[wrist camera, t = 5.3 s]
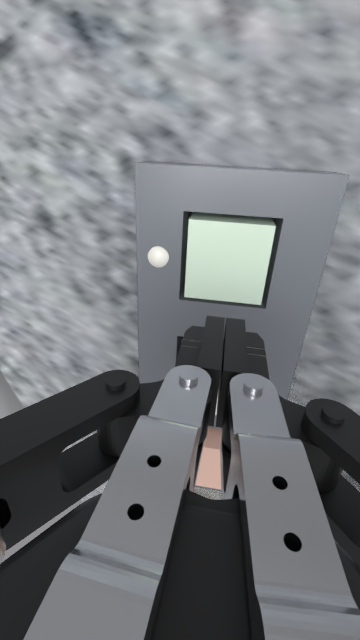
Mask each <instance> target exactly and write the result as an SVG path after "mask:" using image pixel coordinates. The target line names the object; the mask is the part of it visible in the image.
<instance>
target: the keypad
mask: <svg viewBox="0 0 360 640" xmlns="http://www.w3.org/2000/svg"><path fill="white" fill-rule="evenodd" d="M348 179H349V175H345V174H341V173H336V172H323V171H306V170H289V169H272V168H255V167H238V166H221V165H203V164H186V163H169V162H152V161H145V162H136V163H135V191H136V240H137V290H138V340H139V381H140V384H141V383H152V382H157V381H161V380H163V379H165V377H166V375H167V373H168V372H169V371H170V370H171V369H172V368H174V367H175V364H176V361H177V357H178V354H179V351H180V347H181V341H182V337H184V334H185V331H186V330H187V329H189V328H190V327H191V326H201V327H205V322H206V317H207V315H211V316H220V317H225V323H224V331H225V324H226V317H229V318H238V319H245V328H246V332H252V333H258V334H259V336H260V337H261V338H262V339H263V340H264V345H265V352H266V359H267V366H268V372H269V379H270V381H271V382H272V383H273V384H274V385H275V387H276V389H277V392H278V395H280V396H281V397H282V398H284V399H286V400H287V398H288V394H289V391H290V387H291V383H292V380H293V376H294V373H295V369H296V365H297V362H298V358H299V355H300V351H301V347H302V344H303V340H304V337H305V333H306V330H307V326H308V322H309V319H310V315H311V312H312V308H313V304H314V301H315V297H316V294H317V290H318V286H319V283H320V279H321V276H322V272H323V269H324V265H325V261H326V258H327V254H328V251H329V247H330V243H331V240H332V236H333V233H334V229H335V225H336V222H337V218H338V215H339V211H340V207H341V204H342V200H343V197H344V193H345V190H346V186H347V182H348ZM189 211H190V212H203V213H217V214H230V215H243V216H257V217H270V218H276V221H275V225H276V228H275V234H274V239H273V244H272V250H271V255H270V260H269V265H268V271H267V276H266V281H265V287H264V292H263V297H262V302H261V305H256V304H246V303H237V302H227V301H218V300H208V299H199V298H189V297H184V293H185V272H186V255H187V237H188V220H189ZM223 339H224V337H223ZM208 428H215V429H221V430H222V428H220V427H216V415H215V420H214V427H213V426H208ZM195 487H200V488H206V489H212V490H218V491H221V490H220V489H214V488H209V487H203V486H197V485H195Z"/></svg>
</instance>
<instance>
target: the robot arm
mask: <svg viewBox="0 0 360 640" xmlns="http://www.w3.org/2000/svg"><path fill="white" fill-rule="evenodd" d="M224 323H225V317H220V316H211V315H207V317H206V322H205V327H201V326H191V327H190V328H189V329H187V330H186V331H185V334H184V337H183V340H182V344H181V347H180V351H179V354H178V357H177V361H176V364H175V367H174V368H172V369H171V370H170V371H169V372H168V373H167V375H166V377H165V379H163V380H161V381H157V382H152V383H141V384H140V381H139V379H138V377H137V376H136V375H135V374H133V373H131V372H129V371H125V370H112V371H108V372H105V373H102V374H100V375H98V376H96V377H93V378H91V379H89V380H87V381H85V382H82V383H80V384H78V385H76V386H73V387H71V388H69V389H67V390H64V391H62V392H60V393H58V394H55V395H53V396H51V397H49V398H47V399H44V400H42V401H40V402H38V403H35V404H33V405H31V406H29V407H26V408H24V409H22V410H20V411H18V412H15V413H13V414H11V415H8V416H6V417H4V418H2V419H0V640H360V492H359V491H358V490H357V489H356V488H355V487H354V486H352V485H351V484H350V483H349V482H348V481H347V480H346V479H345V478H344V477H343V476H342V475H341V473H342V471H343V470H345V471H346V472H347V473H348V474H349V475H350V476H351V477H352V478H353V479H355V480H356V481H357V482H358V483H359V484H360V416H359V415H358V414H356V413H355V412H353V411H352V410H351V409H349V408H348V407H346V406H345V405H343V404H341V403H339V402H336V401H333V400H329V399H314V400H311V401H310V402H309V403H308V404H307V405H306V407H304V406H301V405H298V404H295V403H293V402H290V401H288V400H286V399H284V398H282V397H281V396H280V395H278V392H277V389H276V387H275V385H274V384H273V383H272V382H271V381H270V379H269V372H268V366H267V359H266V352H265V345H264V340H263V339H262V338H261V337H260V336H259V334H258V333H252V332H246V328H245V319H238V318H229V317H226V324H225V331H224ZM223 337H224V339H223ZM217 397H218V402H217ZM216 405H217V415H216V427H220V428H222V438H221V444H220V465H221V494H222V500H210V499H207V498H205V497H203V496H201V495H198V494H196V493H194V490H195V485H196V480H197V475H198V470H199V466H200V461H201V456H202V451H203V447H204V440H205V439H206V437H207V431H208V426H213V427H214V420H215V412H216ZM95 430H97V433H95V434H93V435H92V436H90V437H88V438H86V439H85V440H83V441H81V442H79V443H78V444H76V445H74V446H72V447H71V448H69V449H67V450H65V451H64V452H62V451H63V450H64V449H65V448H66V447H67V446H69V445H71V444H72V443H74V442H76V441H78V440H79V439H81V438H83V437H85V436H87V435H88V434H90V433H92V432H94V431H95ZM61 452H62V453H61ZM107 480H109V481H108V483H107V485H106V487H105V489H104V491H103V493H101V494H99V495H97V496H95V497H92V498H90V499H89V500H87V501H85V502H83V503H82V504H80V505H79V506H77V507H76V508H75V509H73V510H72V511H71V512H69V513H68V514H67V515H65V516H64V517H63V518H61V519H60V520H58V521H57V522H56V523H54V524H53V525H52V526H50V527H49V528H48V529H46V530H45V531H44V532H42V533H41V534H40V535H38V536H37V537H36V538H34V539H33V540H32V541H30V542H29V543H28V544H26V545H25V546H24V547H22V548H21V549H20V550H19V551H17V552H16V553H14V554H13V555H12V556H10V557H9V558H8V559H6V560H5V561H4V562H2V560H3V558H4V555H5V551H6V550H8V549H9V548H11V547H12V546H14V545H15V544H16V543H18V542H19V541H21V540H22V539H24V538H25V537H27V536H28V535H29V534H31V533H32V532H34V531H35V530H36V529H38V528H40V527H41V526H42V525H44V524H45V523H47V522H48V521H50V520H51V519H52V518H54V517H55V516H57V515H58V514H60V513H61V512H63V511H64V510H66V509H67V508H68V507H70V506H71V505H73V504H74V503H76V502H77V501H79V500H80V499H81V498H83V497H84V496H86V495H87V494H89V493H90V492H92V491H93V490H94V489H96V488H97V487H99V486H100V485H102V484H103V483H105V482H106V481H107ZM334 540H335V541H336V542H337V543H338V544H339V545H338V544H337V543H336V542H335V541H334Z"/></svg>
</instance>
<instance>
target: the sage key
mask: <svg viewBox="0 0 360 640" xmlns="http://www.w3.org/2000/svg"><path fill="white" fill-rule="evenodd" d="M275 228H276V225H275V223H274V222H273V220H272V218H270V217H257V216H243V215H230V214H217V213H203V212H193V214H192V215H191V217H190V218H189V225H188V242H187V259H186V276H185V293H184V297H189V298H199V299H208V300H218V301H227V302H237V303H246V304H256V305H261V302H262V297H263V292H264V287H265V281H266V276H267V271H268V265H269V260H270V255H271V250H272V244H273V239H274V234H275Z"/></svg>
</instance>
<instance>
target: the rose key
mask: <svg viewBox="0 0 360 640" xmlns="http://www.w3.org/2000/svg"><path fill="white" fill-rule="evenodd" d="M221 438H222V430H221V429H215V428H208V431H207V437H206V439H205V440H204V447H203V451H202V456H201V461H200V466H199V470H198V475H197V480H196V485H197V486H203V487H209V488H214V489H220V490H221V465H220V444H221Z"/></svg>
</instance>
